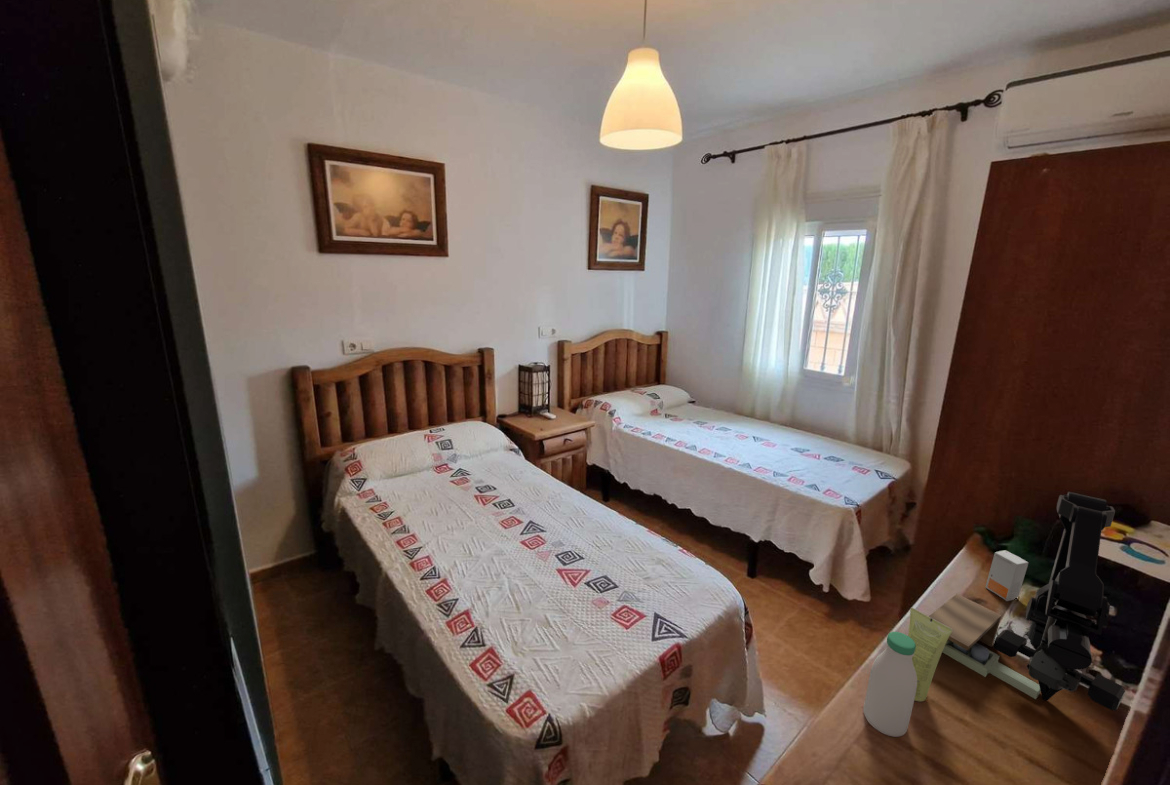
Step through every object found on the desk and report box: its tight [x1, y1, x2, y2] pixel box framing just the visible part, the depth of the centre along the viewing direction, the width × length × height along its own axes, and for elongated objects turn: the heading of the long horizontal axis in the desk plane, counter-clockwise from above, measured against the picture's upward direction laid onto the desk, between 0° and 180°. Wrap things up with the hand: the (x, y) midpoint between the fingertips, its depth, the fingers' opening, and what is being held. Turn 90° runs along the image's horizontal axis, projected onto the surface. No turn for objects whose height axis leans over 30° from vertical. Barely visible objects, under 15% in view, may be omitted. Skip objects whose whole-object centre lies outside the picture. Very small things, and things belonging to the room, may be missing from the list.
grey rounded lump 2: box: [970, 643, 990, 665], centre depth 109 cm, size 3×3×4 cm
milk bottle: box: [862, 631, 917, 738], centre depth 94 cm, size 8×8×20 cm
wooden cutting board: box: [928, 593, 1002, 650], centre depth 112 cm, size 18×9×10 cm, turn 122°
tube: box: [907, 607, 953, 702], centre depth 100 cm, size 6×5×20 cm
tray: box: [942, 640, 1041, 700], centre depth 107 cm, size 7×17×3 cm, turn 33°
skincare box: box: [985, 549, 1029, 602], centre depth 132 cm, size 6×4×12 cm
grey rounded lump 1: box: [952, 642, 968, 655], centre depth 112 cm, size 3×3×4 cm
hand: (1045, 699), depth 100 cm, fingers closed
